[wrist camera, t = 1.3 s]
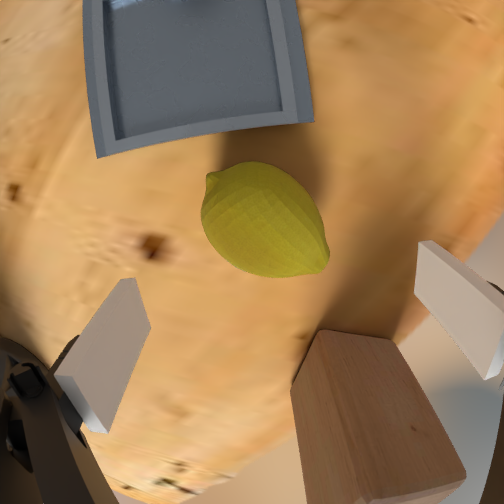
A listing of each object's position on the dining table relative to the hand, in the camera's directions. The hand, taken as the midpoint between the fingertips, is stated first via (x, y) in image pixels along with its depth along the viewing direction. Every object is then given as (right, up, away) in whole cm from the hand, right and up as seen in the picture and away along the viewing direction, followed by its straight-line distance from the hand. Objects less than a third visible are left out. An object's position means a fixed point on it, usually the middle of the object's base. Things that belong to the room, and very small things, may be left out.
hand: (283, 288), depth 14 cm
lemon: (-1, +5, +14) cm, 15 cm away
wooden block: (+9, -11, +20) cm, 25 cm away
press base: (-7, +22, +7) cm, 24 cm away
